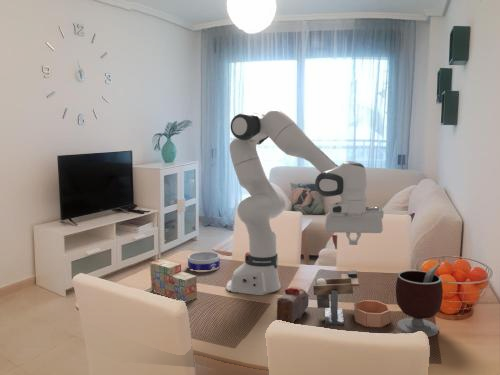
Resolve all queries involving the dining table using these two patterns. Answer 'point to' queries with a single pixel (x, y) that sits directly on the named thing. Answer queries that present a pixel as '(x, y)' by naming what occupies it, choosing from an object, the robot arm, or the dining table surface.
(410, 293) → the mate gourd
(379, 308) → the octagonal bowl
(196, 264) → the dog bowl
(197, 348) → the dining table surface
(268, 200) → the robot arm
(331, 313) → the chute stand
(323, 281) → the ball
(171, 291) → the stack of blocks
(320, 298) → the tipping chute
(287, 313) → the food item
